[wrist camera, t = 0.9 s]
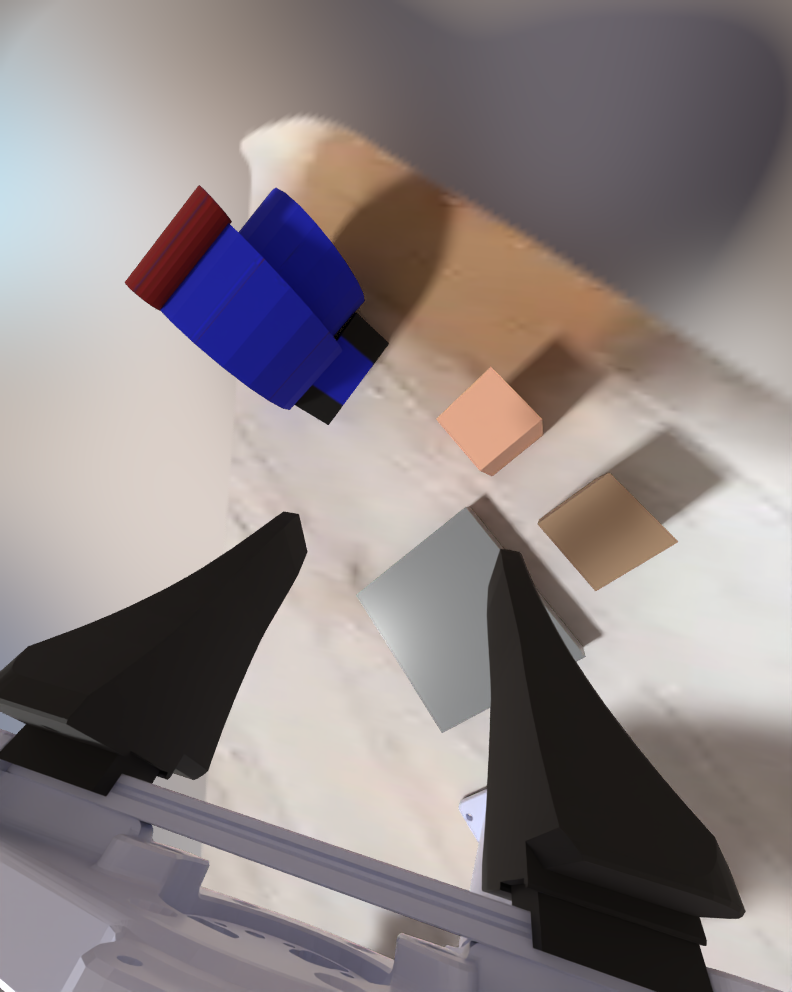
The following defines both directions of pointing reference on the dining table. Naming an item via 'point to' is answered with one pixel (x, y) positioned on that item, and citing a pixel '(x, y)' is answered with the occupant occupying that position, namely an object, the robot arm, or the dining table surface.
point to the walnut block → (605, 531)
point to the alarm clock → (263, 301)
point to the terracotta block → (491, 423)
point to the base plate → (445, 617)
